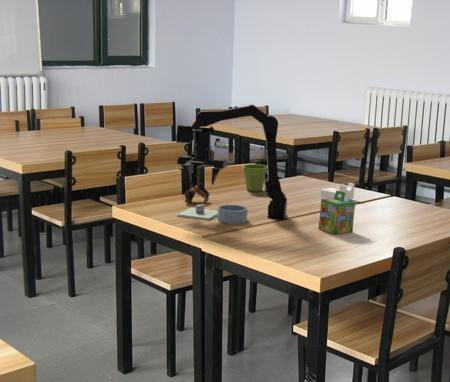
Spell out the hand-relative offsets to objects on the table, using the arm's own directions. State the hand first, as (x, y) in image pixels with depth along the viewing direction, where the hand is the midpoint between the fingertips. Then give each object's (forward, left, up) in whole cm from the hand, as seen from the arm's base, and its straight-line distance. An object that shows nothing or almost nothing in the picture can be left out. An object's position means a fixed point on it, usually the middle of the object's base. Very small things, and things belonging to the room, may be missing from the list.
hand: (201, 183), depth 274 cm
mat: (0, +1, -12) cm, 12 cm away
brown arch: (+10, -19, -13) cm, 25 cm away
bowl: (-14, +3, -12) cm, 19 cm away
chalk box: (-53, -1, -13) cm, 55 cm away
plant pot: (-4, -57, -13) cm, 58 cm away
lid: (0, +1, -12) cm, 12 cm away
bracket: (-42, -58, -13) cm, 73 cm away
